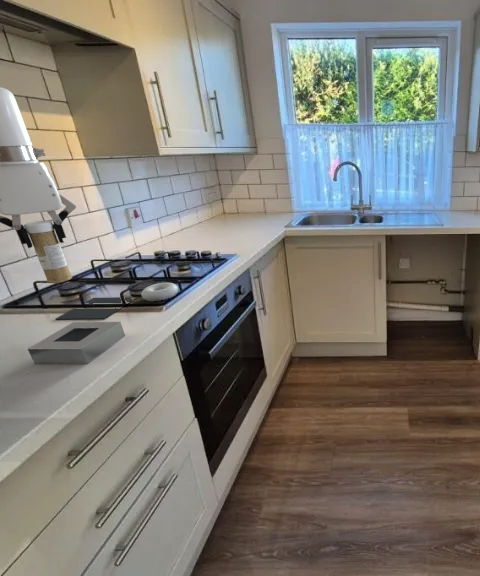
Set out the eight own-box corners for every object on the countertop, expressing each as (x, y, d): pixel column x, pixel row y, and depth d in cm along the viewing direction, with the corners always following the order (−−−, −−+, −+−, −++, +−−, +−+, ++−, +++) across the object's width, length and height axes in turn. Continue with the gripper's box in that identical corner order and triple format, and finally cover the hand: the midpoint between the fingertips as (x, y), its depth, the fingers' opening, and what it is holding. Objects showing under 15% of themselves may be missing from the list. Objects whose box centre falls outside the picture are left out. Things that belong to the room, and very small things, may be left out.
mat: (55, 319, 100) (55, 318, 100) (94, 298, 113) (93, 297, 113) (104, 319, 100) (104, 318, 100) (137, 298, 113) (137, 297, 113)
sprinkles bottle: (44, 281, 82) (19, 223, 77) (68, 275, 86) (46, 219, 80) (52, 285, 80) (27, 225, 75) (76, 278, 83) (55, 221, 78)
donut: (138, 298, 113) (149, 306, 107) (135, 287, 112) (145, 295, 106) (172, 288, 120) (184, 295, 114) (170, 278, 119) (181, 285, 112)
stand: (34, 364, 80) (27, 348, 79) (78, 335, 92) (72, 322, 90) (87, 363, 80) (81, 348, 79) (125, 335, 91) (120, 321, 90)
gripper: (64, 153, 80) (91, 234, 87) (-49, 158, 70) (-7, 248, 77) (66, 154, 75) (95, 239, 82) (-55, 159, 65) (-9, 256, 72)
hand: (45, 243), depth 79 cm, fingers closed on sprinkles bottle, 4 cm apart
